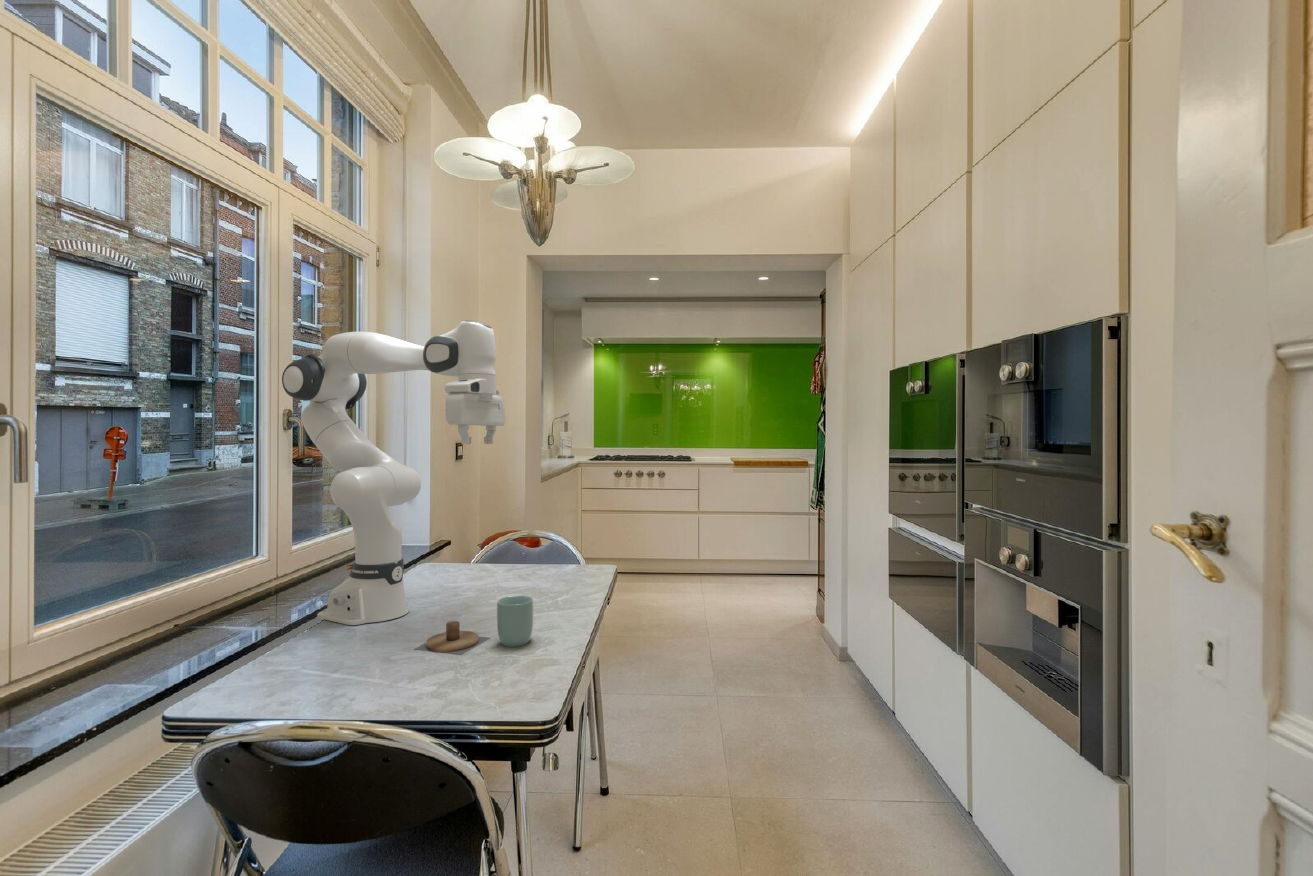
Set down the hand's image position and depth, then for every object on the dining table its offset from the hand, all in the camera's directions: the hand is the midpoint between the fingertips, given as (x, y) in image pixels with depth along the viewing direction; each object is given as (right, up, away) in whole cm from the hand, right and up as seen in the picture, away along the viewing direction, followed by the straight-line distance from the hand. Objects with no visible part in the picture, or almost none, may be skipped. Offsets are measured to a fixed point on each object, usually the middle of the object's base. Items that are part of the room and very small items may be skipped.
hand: (477, 444), depth 144 cm
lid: (-2, -44, -13) cm, 46 cm away
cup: (+12, -45, -13) cm, 48 cm away
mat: (-2, -45, -13) cm, 47 cm away
